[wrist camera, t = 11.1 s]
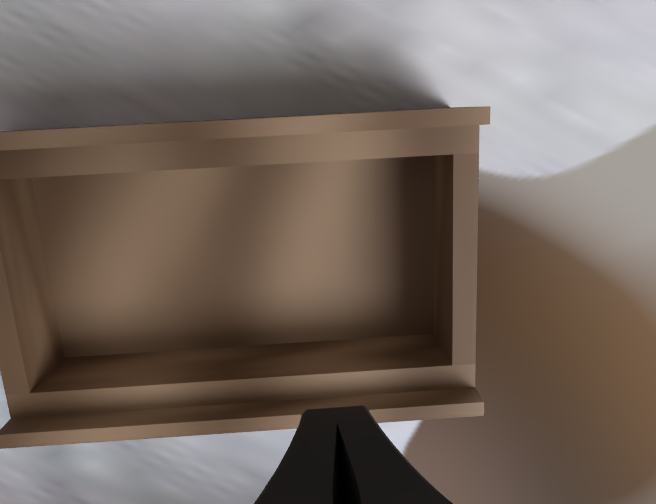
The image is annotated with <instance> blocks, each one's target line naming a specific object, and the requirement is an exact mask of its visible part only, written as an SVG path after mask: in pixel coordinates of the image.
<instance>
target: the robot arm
mask: <svg viewBox="0 0 656 504" xmlns="http://www.w3.org/2000/svg"><path fill="white" fill-rule="evenodd" d="M254 504H452V503H451V502H450V501H449V500H448V499H446V498H445V497H444V496H443V495H442V494H441V493H440V492H438V491H437V490H436V489H435V488H434V487H433V486H432V485H431V484H430V483H429V482H428V481H427V480H426V479H425V478H424V477H423V476H422V475H421V474H420V473H419V472H418V471H417V470H416V469H415V468H414V467H413V466H412V465H411V464H410V463H409V462H408V461H407V460H406V458H405V457H404V456H403V455H402V454H401V453H400V452H399V450H398V449H397V448H396V447H395V446H394V445H393V443H392V442H391V441H390V440H389V438H388V437H387V436H386V435H385V433H384V432H383V431H382V429H381V428H380V427H379V425H378V424H377V422H376V421H375V419H374V418H373V416H372V415H371V413H370V411H369V410H368V409H367V408H366V407H365V406H364V405H363V406H349V407H335V408H321V409H307V410H306V411H305V412H304V413H303V414H302V415H301V420H300V423H299V425H298V428H297V431H296V433H295V435H294V437H293V439H292V442H291V444H290V446H289V448H288V450H287V451H286V453H285V455H284V457H283V459H282V461H281V463H280V464H279V466H278V468H277V470H276V471H275V473H274V474H273V476H272V477H271V479H270V481H269V482H268V484H267V485H266V487H265V488H264V490H263V491H262V493H261V494H260V496H259V497H258V499H257V500H256V501H255V503H254Z"/></svg>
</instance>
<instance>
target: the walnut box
mask: <svg viewBox="0 0 656 504" xmlns="http://www.w3.org/2000/svg"><path fill="white" fill-rule="evenodd" d="M484 124H490V106H489V107H456V108H435V109H416V110H397V111H378V112H359V113H340V114H321V115H303V116H284V117H265V118H246V119H227V120H208V121H189V122H170V123H151V124H132V125H114V126H95V127H76V128H57V129H38V130H19V131H2V132H0V371H1V375H2V380H3V384H4V389H5V394H6V398H7V403H8V408H9V412H10V417H11V419H10V420H9V421H8V422H7V423H6V424H5V425H4V426H3V427H2V428H1V429H0V449H2V448H17V447H32V446H46V445H61V444H75V443H90V442H105V441H119V440H134V439H149V438H163V437H178V436H192V435H207V434H222V433H236V432H251V431H266V430H280V429H295V428H298V425H299V423H300V420H301V415H302V414H303V413H304V412H305V411H306V410H307V409H321V408H335V407H349V406H363V405H364V406H365V407H366V408H367V409H368V410H369V411H370V413H371V415H372V416H373V418H374V419H375V421H376V422H377V423H383V422H397V421H412V420H425V419H440V418H456V417H470V416H483V415H484V401H483V400H482V398H481V397H480V395H479V393H478V392H477V390H476V389H475V355H476V354H475V353H476V296H477V295H476V294H477V293H476V292H477V291H476V290H477V235H478V234H477V233H478V174H479V125H484Z"/></svg>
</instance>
